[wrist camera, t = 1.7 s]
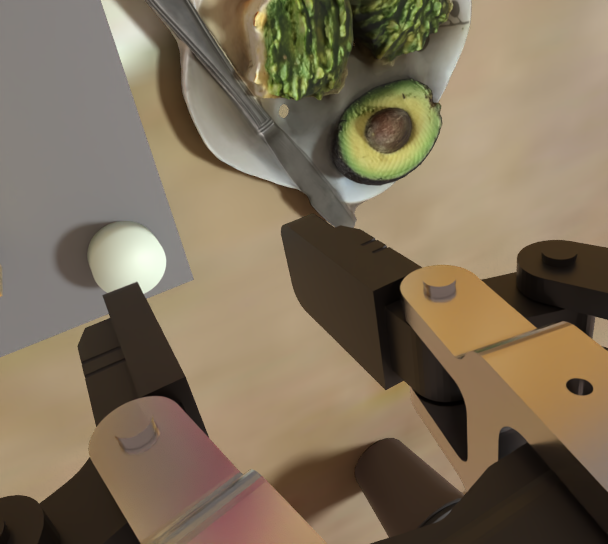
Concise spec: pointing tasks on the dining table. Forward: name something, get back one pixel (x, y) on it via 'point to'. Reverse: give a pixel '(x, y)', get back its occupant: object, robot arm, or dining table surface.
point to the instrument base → (73, 175)
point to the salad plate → (318, 88)
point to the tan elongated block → (0, 288)
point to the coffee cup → (403, 487)
